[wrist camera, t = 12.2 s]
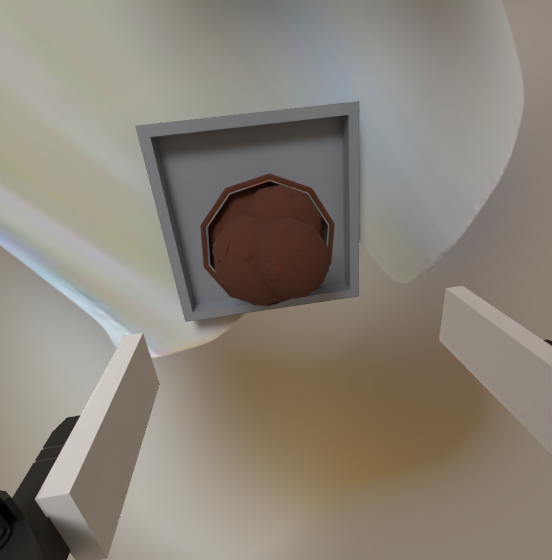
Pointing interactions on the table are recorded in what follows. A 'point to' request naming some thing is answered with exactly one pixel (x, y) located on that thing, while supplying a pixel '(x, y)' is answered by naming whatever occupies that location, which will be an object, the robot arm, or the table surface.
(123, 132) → the table surface
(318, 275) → the ice cream bowl
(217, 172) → the tray
